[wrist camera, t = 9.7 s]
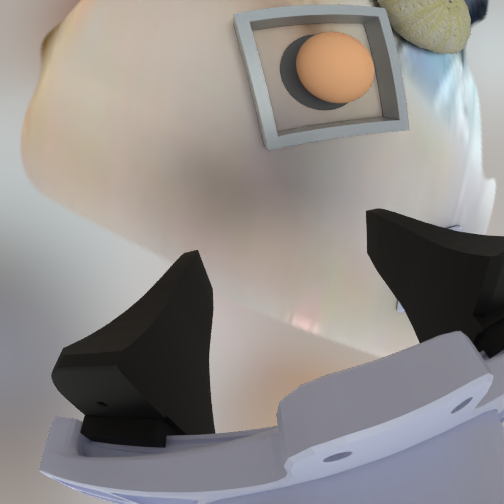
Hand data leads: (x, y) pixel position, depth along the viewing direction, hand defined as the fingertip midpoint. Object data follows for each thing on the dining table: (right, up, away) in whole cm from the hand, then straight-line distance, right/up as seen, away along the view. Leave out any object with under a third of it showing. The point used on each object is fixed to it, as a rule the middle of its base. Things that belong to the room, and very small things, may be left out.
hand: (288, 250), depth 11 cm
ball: (+3, +13, +5) cm, 14 cm away
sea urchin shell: (+12, +20, +2) cm, 24 cm away
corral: (+4, +13, +5) cm, 14 cm away
